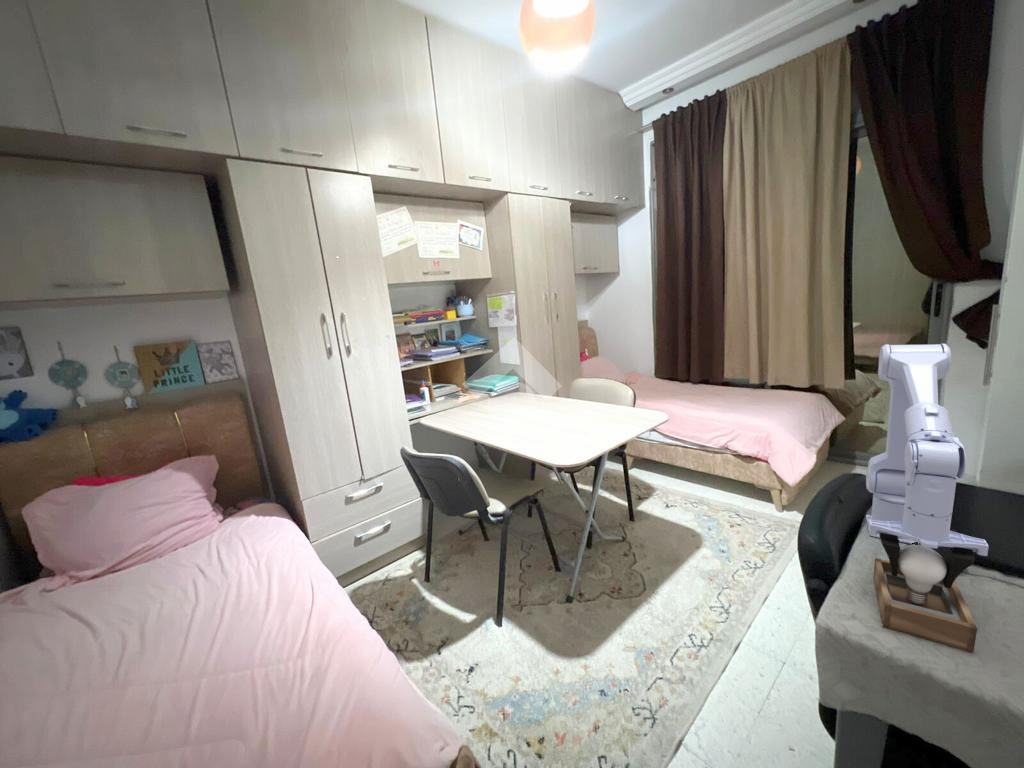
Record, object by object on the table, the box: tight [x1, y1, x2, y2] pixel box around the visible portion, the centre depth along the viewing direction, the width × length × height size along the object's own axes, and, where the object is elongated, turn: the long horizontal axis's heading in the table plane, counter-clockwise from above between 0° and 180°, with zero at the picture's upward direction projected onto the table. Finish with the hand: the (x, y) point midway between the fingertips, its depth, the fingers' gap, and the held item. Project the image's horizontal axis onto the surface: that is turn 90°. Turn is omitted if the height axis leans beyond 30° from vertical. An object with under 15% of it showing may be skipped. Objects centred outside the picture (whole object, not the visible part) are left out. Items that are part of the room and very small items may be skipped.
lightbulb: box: [898, 544, 947, 605], centre depth 73 cm, size 6×6×11 cm
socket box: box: [872, 557, 978, 654], centre depth 73 cm, size 14×11×4 cm
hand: (919, 578), depth 73 cm, fingers closed on lightbulb, 6 cm apart
